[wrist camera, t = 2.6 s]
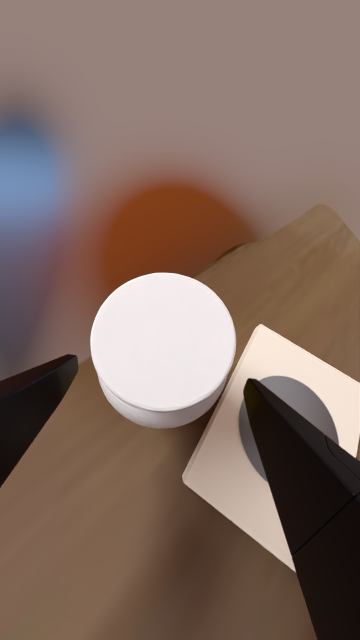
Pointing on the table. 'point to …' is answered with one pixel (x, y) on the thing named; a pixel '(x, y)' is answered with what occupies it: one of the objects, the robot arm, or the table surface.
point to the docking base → (238, 442)
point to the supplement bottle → (163, 349)
